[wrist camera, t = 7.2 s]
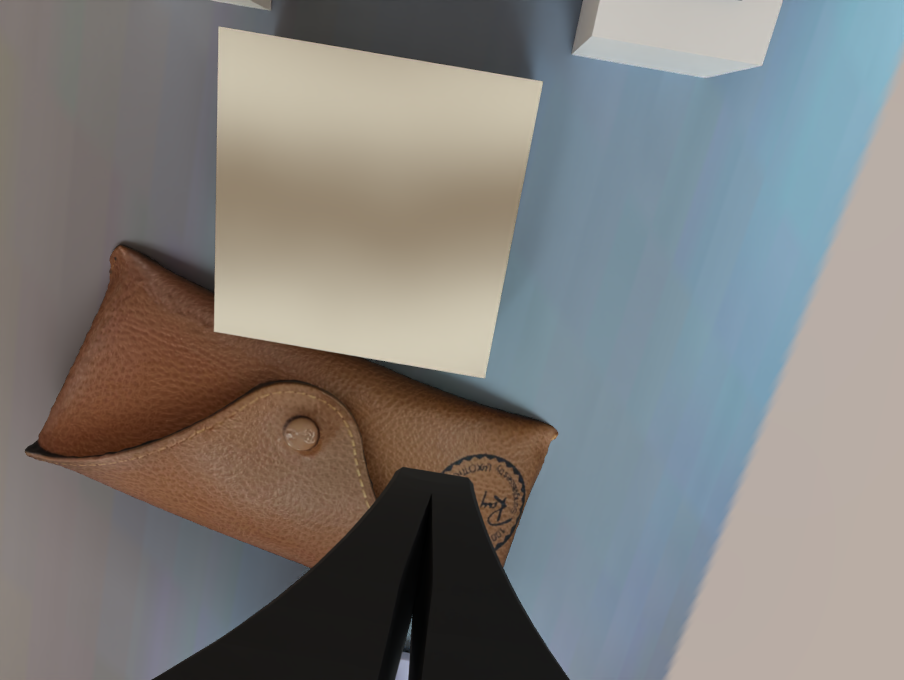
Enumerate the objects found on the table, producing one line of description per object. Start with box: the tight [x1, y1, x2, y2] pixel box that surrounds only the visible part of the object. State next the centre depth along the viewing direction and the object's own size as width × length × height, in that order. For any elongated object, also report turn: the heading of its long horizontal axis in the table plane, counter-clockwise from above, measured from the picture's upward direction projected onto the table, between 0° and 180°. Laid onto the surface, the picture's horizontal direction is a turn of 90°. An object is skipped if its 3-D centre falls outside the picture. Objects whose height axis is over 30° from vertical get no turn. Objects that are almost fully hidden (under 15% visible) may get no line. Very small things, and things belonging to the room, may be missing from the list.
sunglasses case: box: [25, 245, 558, 568], centre depth 21 cm, size 18×7×7 cm
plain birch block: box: [214, 27, 543, 378], centre depth 18 cm, size 8×8×4 cm
